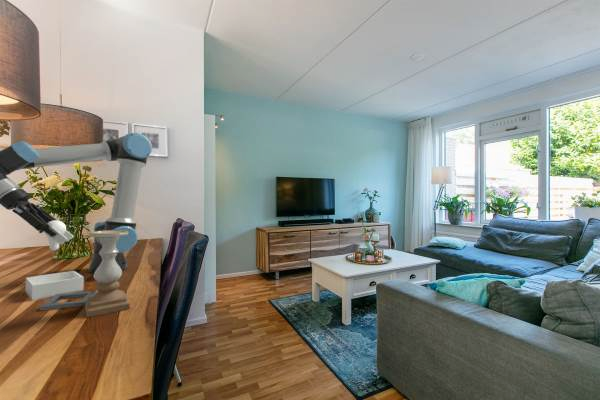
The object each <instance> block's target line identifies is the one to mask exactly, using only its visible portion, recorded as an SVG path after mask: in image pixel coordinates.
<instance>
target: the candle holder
mask: <svg viewBox="0 0 600 400" xmlns="http://www.w3.org/2000/svg"><path fill="white" fill-rule="evenodd" d="M127 234H128V231H125V230H105V231H94V230H93V231H90V232H89V233H88V236H89V237H92V238H94V237H98V238H99V241H100V242H101V243H102V249H101V250H100V251H99V254H100V255H101V257H102V262H101V264H100V265H99V267H98V268H97V270H96V271H95V273H93V278H94V280H95V281H96V282H98V283H97V284H96V286H95V291H97V293H96V294H94V295H91V296H89V297H88V300H86V301H85V306H84V311H85V312H84V314H85V318H93V317H98V316H102V315H107V314H113V313H116V312H123V311H127V310H130V309H131V302H130V300H129V297H128V296H127V294H126V293H125V291H124V290H120V289H118V288H119V287H120V285H121V284H120V282H119V281H118V280H119V279H120V278H121V277H122V275H123V270H121V268H120V266H119V265H118V264H117V262H116V260H115V257H116V255H117V253H118V252H119V251H118V250H117V248H116V242H117V241H118V240H119V237H120V236H124V235H127Z"/></svg>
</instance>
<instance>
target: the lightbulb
mask: <svg viewBox="0 0 600 400" xmlns="http://www.w3.org/2000/svg"><path fill="white" fill-rule="evenodd" d="M47 224H48V225H49V226H50V227H51V226H52V227H53V228H55V229H56V230H57V231H58V232H60V233H61V234H62V235H63V234H64V233H65V231H66V230H67V226H66V224H65V223H64V222H63V221H60V220H58V219H56V220H54V221H50V222H48V223H47ZM50 227H49V228H50ZM44 234H45V236H46V238H47V239H48V245H49V249H50V250H51V251H57V250H58V249H60V244H59V243H57V242H56V241H55V240H53V239H52V238H51V237H50V236H48V235H47V234H46V233H44Z"/></svg>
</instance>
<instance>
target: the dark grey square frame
mask: <svg viewBox="0 0 600 400" xmlns="http://www.w3.org/2000/svg"><path fill="white" fill-rule="evenodd" d="M97 292H98V291H97V290H89V291H88V290H87V291H79V292H73V293H66V294H56V295H54V296H53V297H49V299H47V301H45V302H44V303H43V304H41V305H39V311H49V310H58V309H59V310H60V309H66V308H67V309H68V308H76V307H78V308H79V307H85V301H86V300H88V297H89V296H91V295H94V294H96V293H97ZM77 298H78V299H79V298H81V299H80V300H72V301H63V302H59V301H60V300H65V299H66V300H67V299H77Z"/></svg>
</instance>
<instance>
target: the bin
mask: <svg viewBox="0 0 600 400" xmlns="http://www.w3.org/2000/svg"><path fill="white" fill-rule="evenodd" d="M84 283H85V277H84V276H83V275H82V274H80V273H78V272H77V271H75V270H69V271H62V272H56V273H50V274H49V273H48V274H42V275H35V276H34V275H33V276H28V277H25V293H26V294H27V296H28V297H29V299H31V302H32V301H38V300H42V299H46V298H52V297H53V296H54V295H56V294H66V293H77V292H84V288H85V287H84V285H85V284H84Z"/></svg>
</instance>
